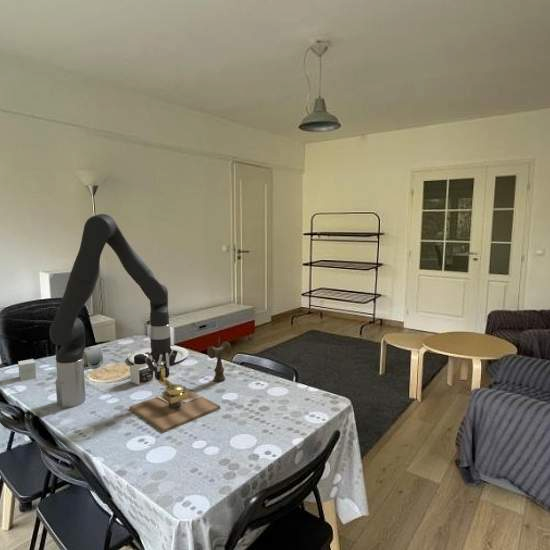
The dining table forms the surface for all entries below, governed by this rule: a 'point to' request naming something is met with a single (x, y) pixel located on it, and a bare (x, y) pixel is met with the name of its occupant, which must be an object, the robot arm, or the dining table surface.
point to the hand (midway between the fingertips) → (162, 378)
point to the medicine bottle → (140, 370)
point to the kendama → (219, 358)
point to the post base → (174, 410)
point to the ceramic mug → (93, 357)
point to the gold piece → (171, 389)
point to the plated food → (180, 356)
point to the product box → (27, 369)
